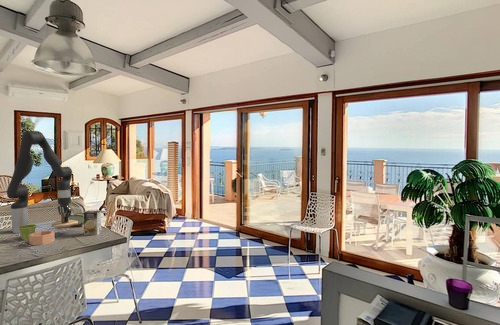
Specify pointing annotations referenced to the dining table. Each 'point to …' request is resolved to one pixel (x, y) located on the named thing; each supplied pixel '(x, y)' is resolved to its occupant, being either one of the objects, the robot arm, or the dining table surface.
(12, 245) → the dining table surface
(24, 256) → the dining table surface
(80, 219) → the food container
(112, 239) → the dining table surface
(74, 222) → the oak lid
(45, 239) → the terracotta bowl
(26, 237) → the plant pot
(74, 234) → the charcoal mat
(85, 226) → the coffee box
